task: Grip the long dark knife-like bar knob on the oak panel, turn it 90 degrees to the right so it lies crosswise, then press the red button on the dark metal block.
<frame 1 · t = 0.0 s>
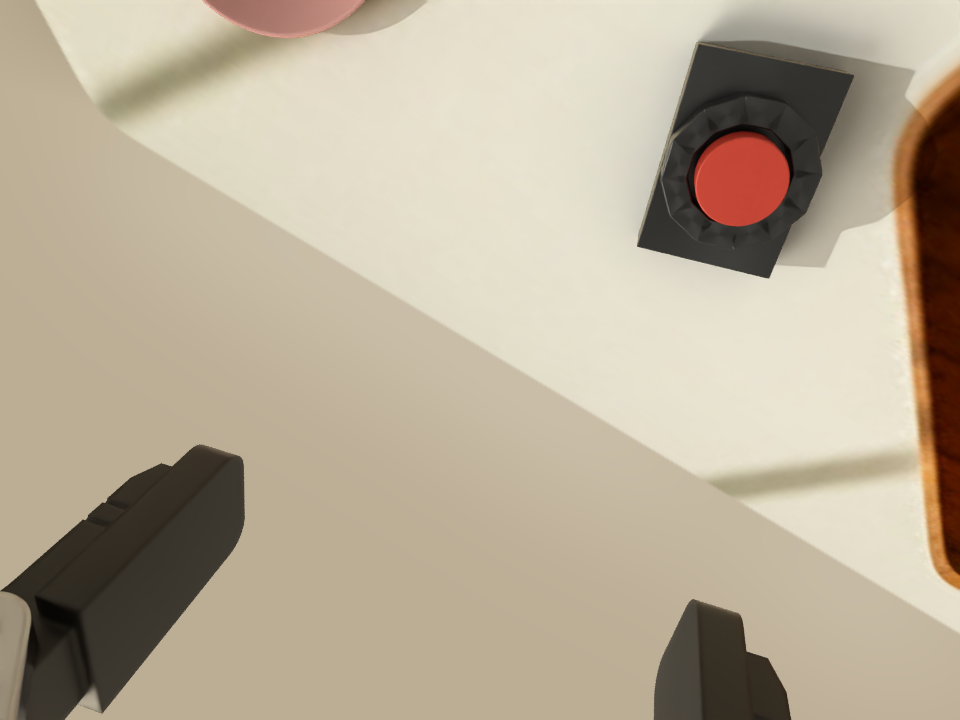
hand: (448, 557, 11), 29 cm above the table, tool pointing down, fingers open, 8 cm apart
button: (740, 179, 31), point 4 cm above the table, slide at 0.1 cm
button block: (732, 159, 34), on the table
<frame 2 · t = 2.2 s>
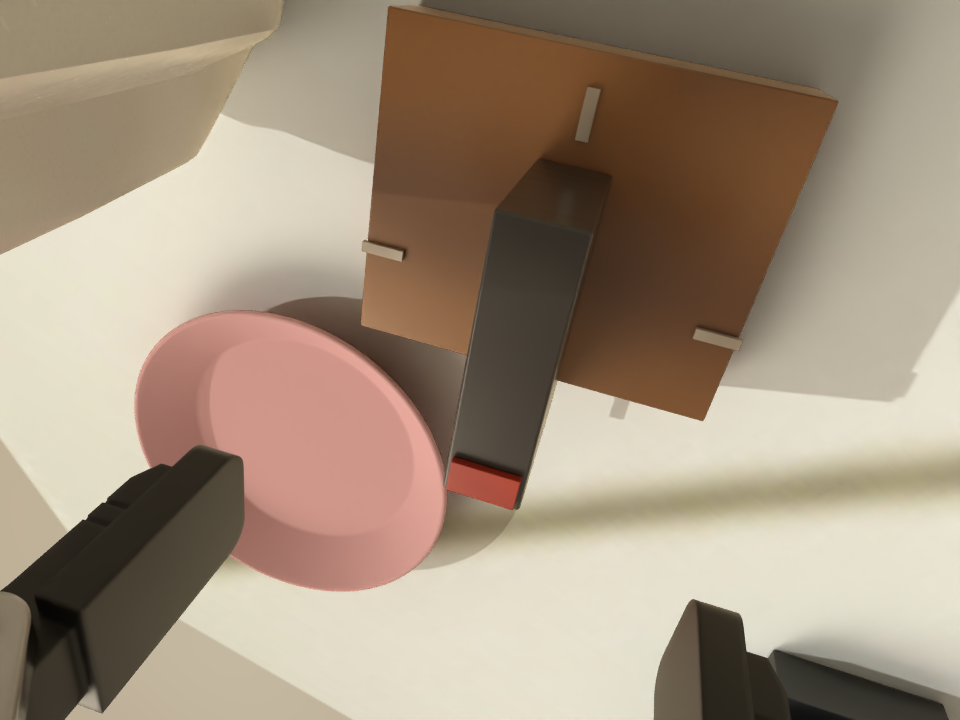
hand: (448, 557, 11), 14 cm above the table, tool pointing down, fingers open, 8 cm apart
oak panel: (570, 209, 22), on the table
plate: (308, 438, 30), on the table
bar knob: (527, 331, 18), point 5 cm above the table, hinge at 0.0°
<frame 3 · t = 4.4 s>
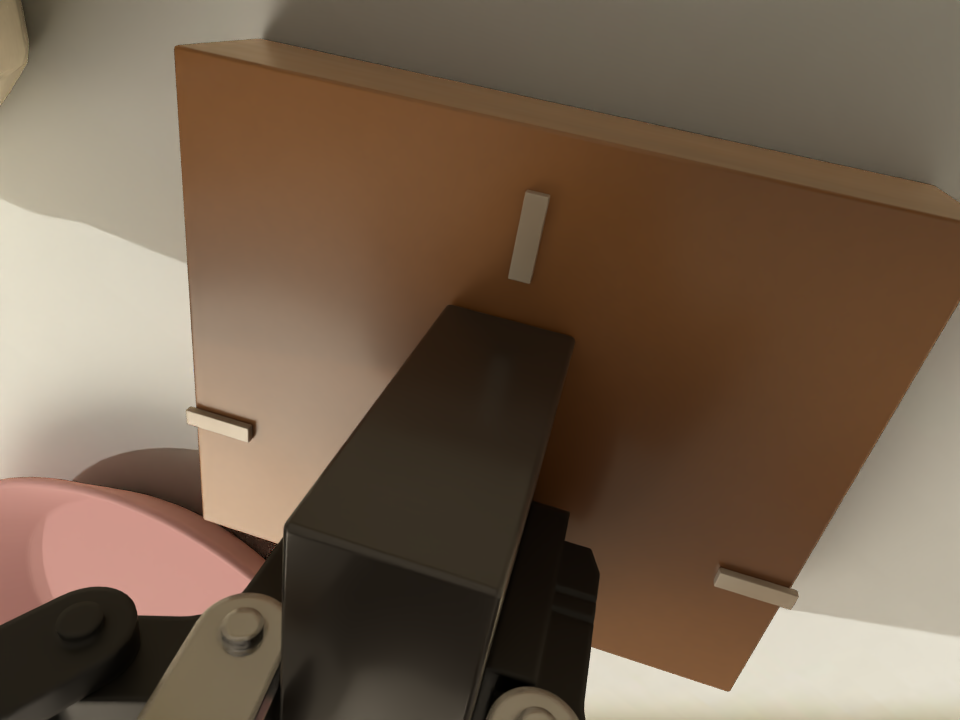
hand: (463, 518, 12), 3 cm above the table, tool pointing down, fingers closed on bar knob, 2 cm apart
oak panel: (518, 353, 14), on the table
plate: (180, 615, 22), on the table
bar knob: (425, 618, 10), point 5 cm above the table, hinge at 0.1°, touching gripper
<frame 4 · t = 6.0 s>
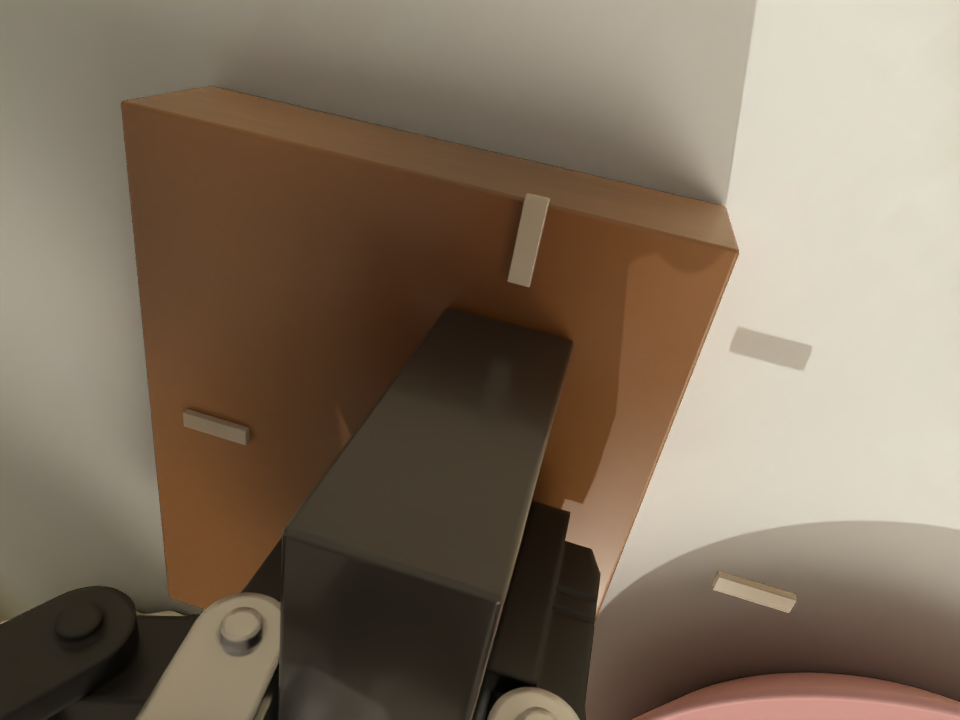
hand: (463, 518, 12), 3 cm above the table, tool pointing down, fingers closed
oak panel: (415, 407, 15), on the table
bar knob: (424, 622, 10), point 5 cm above the table, hinge at -89.8°
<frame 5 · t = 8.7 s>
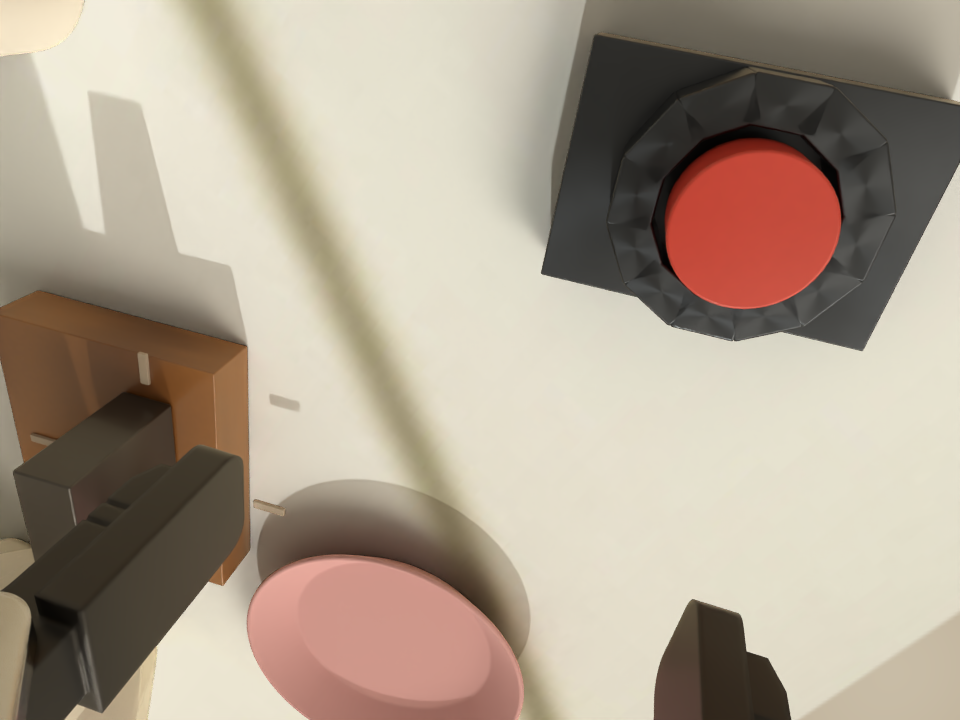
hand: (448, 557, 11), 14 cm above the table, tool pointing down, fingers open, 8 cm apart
vase: (71, 609, 40), on the table
oak panel: (152, 429, 31), on the table
plate: (394, 632, 34), on the table
bar knob: (109, 516, 26), point 5 cm above the table, hinge at -89.8°
button: (746, 224, 17), point 4 cm above the table, slide at 0.1 cm
button block: (728, 185, 21), on the table
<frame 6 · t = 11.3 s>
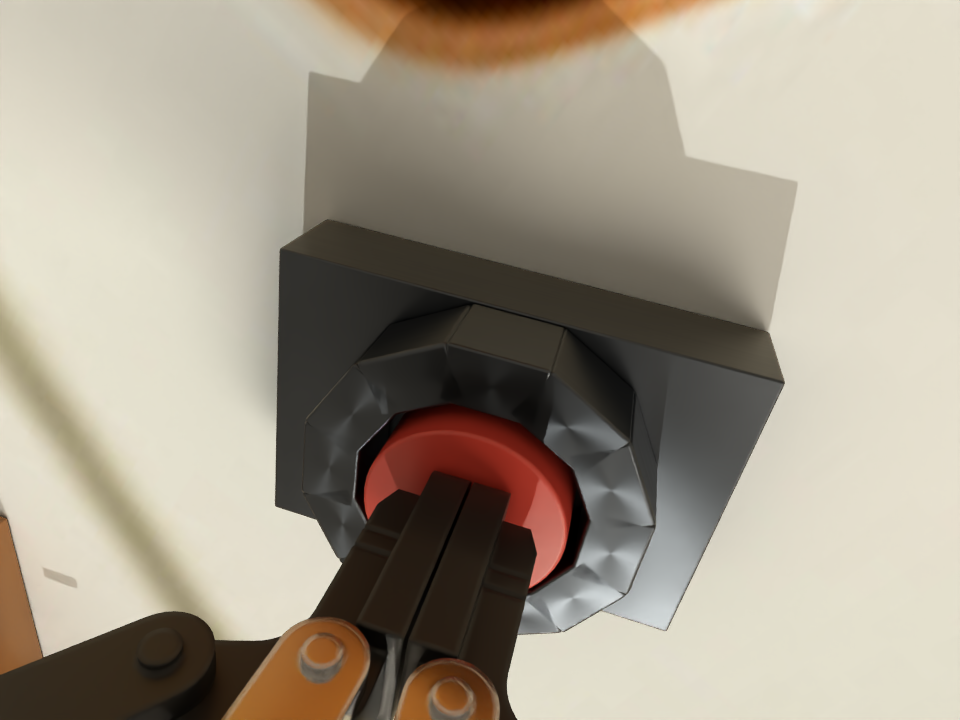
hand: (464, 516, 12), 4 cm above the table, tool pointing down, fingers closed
button: (472, 491, 13), point 3 cm above the table, slide at -0.9 cm, touching gripper
button block: (508, 403, 16), on the table
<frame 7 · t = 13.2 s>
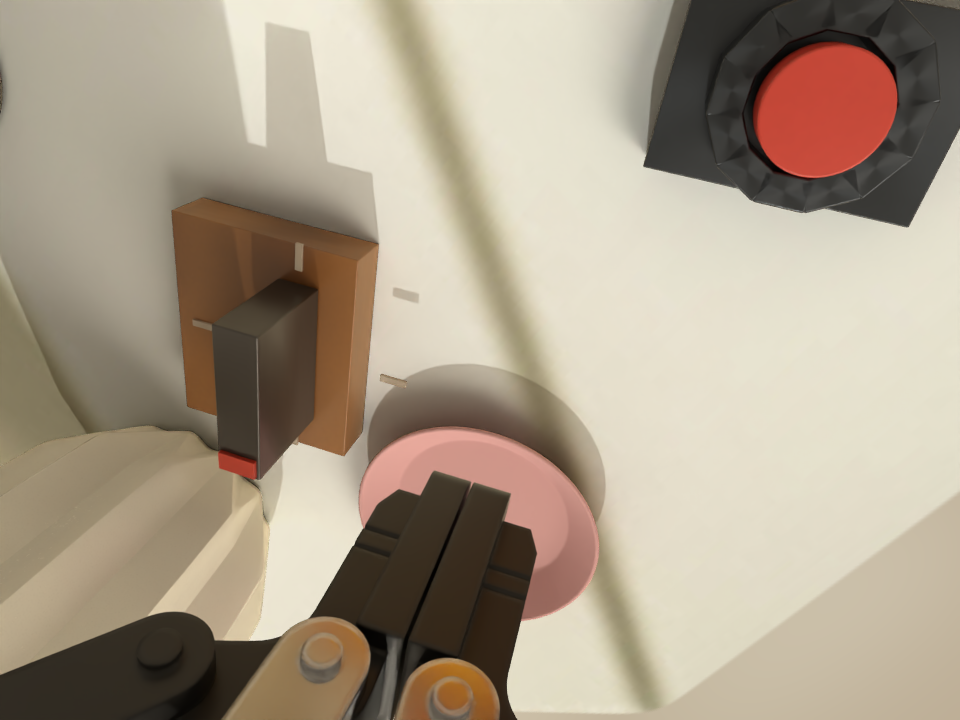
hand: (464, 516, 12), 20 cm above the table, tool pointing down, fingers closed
vase: (195, 494, 46), on the table
oak panel: (287, 322, 37), on the table
plate: (483, 507, 40), on the table
bar knob: (267, 379, 32), point 5 cm above the table, hinge at -89.8°
button: (820, 110, 22), point 4 cm above the table, slide at 0.1 cm
button block: (800, 93, 25), on the table
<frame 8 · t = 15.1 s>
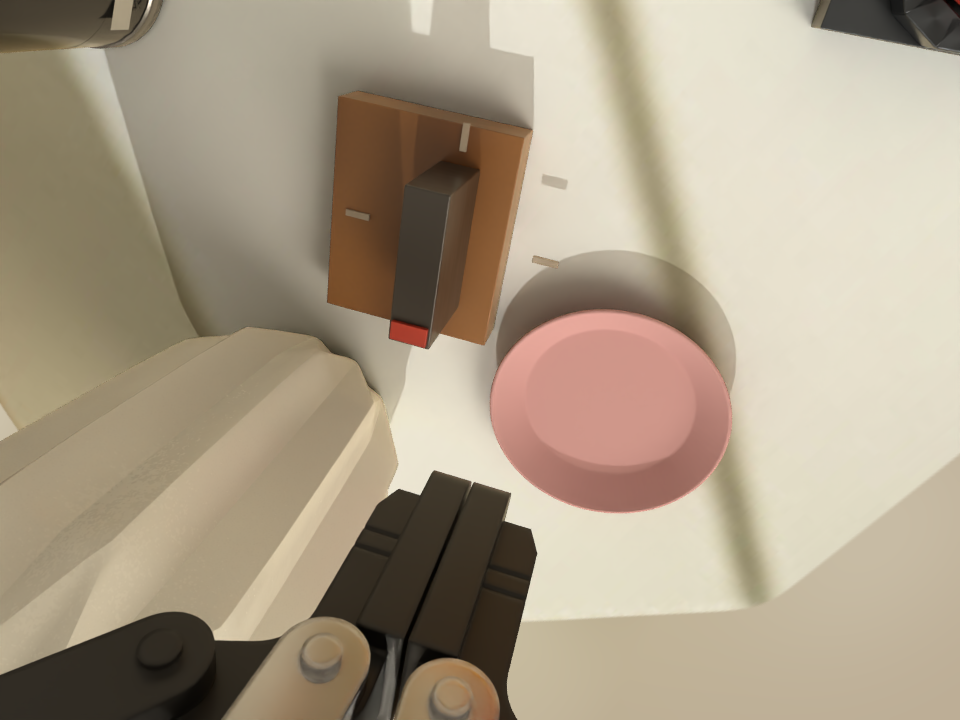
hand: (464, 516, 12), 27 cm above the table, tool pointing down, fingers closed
vase: (310, 405, 48), on the table
oak panel: (429, 216, 39), on the table
plate: (608, 401, 42), on the table
bar knob: (433, 254, 34), point 5 cm above the table, hinge at -89.8°
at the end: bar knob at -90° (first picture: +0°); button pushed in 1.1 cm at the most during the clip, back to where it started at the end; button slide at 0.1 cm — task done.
